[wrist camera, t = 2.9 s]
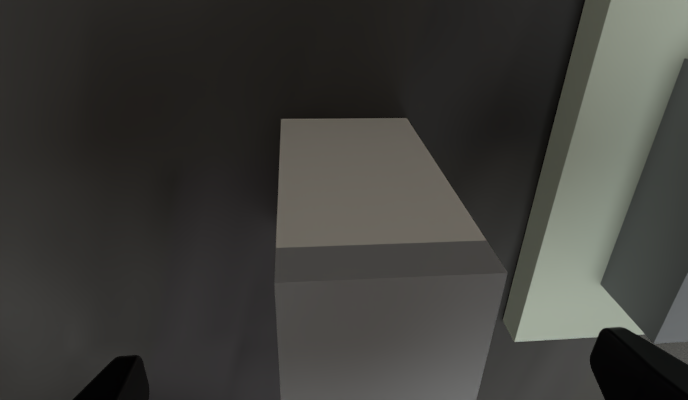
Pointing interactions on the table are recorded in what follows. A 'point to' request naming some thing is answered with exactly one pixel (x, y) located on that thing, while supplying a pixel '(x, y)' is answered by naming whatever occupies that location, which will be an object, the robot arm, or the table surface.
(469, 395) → the plug
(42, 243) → the table surface
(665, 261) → the socket
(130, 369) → the robot arm
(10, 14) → the table surface
